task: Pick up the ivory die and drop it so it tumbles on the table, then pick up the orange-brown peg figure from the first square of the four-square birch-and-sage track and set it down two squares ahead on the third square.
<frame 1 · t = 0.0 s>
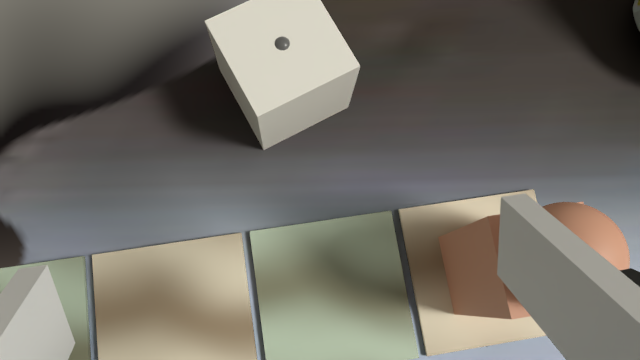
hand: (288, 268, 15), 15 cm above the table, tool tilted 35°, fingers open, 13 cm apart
die: (283, 88, 33), on the table
orange-brown peg figure: (482, 269, 31), resting on track
track: (254, 305, 30), on the table
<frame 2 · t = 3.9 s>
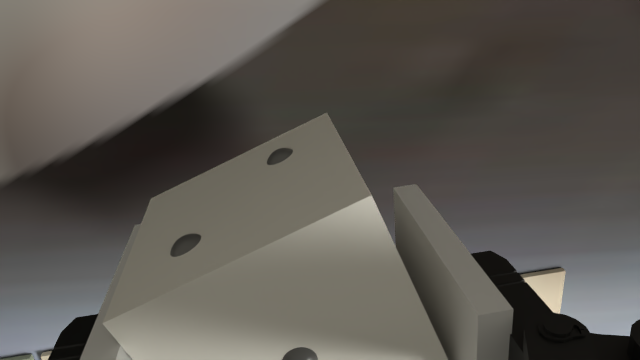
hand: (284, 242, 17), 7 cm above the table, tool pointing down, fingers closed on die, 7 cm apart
die: (281, 232, 17), point 6 cm above the table, touching gripper
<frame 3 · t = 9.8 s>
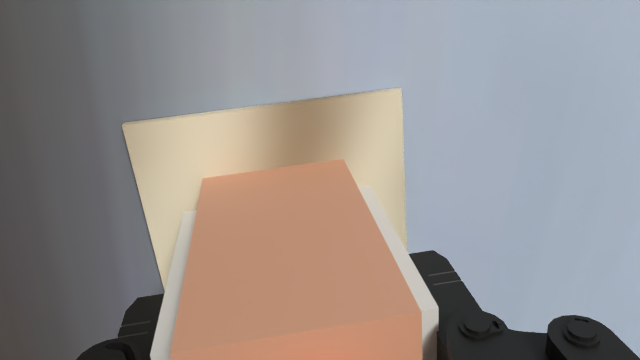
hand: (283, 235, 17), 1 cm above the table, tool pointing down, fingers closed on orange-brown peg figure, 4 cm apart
orange-brown peg figure: (282, 230, 17), resting on track, touching gripper
when the fingers open (2 cm above the table, at t = 14.5 s): orange-brown peg figure drops 1 cm, resting on track.
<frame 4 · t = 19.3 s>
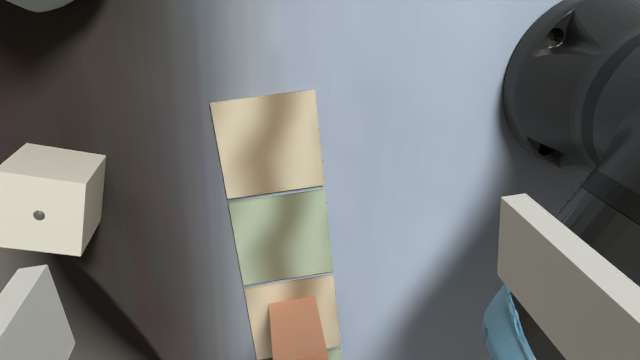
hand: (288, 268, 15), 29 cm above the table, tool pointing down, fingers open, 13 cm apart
die: (65, 182, 43), on the table
orange-brown peg figure: (294, 318, 51), resting on track
track: (288, 278, 49), on the table
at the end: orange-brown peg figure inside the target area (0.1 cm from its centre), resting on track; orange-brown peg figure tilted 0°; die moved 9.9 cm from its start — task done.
